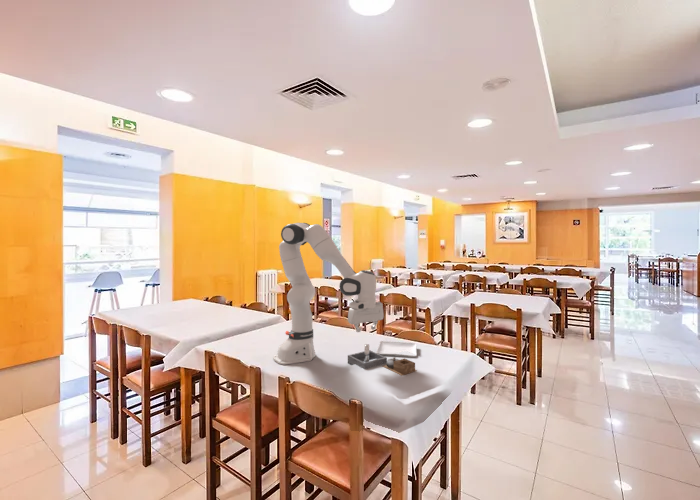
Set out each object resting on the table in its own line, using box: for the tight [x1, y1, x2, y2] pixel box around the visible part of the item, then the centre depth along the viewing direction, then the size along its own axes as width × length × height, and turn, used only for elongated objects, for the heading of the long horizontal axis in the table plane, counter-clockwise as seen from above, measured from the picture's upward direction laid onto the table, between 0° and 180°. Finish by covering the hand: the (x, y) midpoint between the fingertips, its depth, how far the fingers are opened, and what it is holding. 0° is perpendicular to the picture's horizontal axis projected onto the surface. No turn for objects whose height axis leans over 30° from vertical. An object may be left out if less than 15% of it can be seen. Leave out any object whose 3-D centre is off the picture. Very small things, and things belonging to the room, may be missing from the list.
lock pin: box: [364, 343, 370, 363], centre depth 169 cm, size 2×2×9 cm
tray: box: [347, 349, 388, 370], centre depth 169 cm, size 14×14×4 cm
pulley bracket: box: [381, 356, 418, 377], centre depth 159 cm, size 10×14×6 cm
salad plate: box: [375, 340, 418, 358], centre depth 185 cm, size 21×21×3 cm
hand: (365, 330), depth 168 cm, fingers open, 8 cm apart
